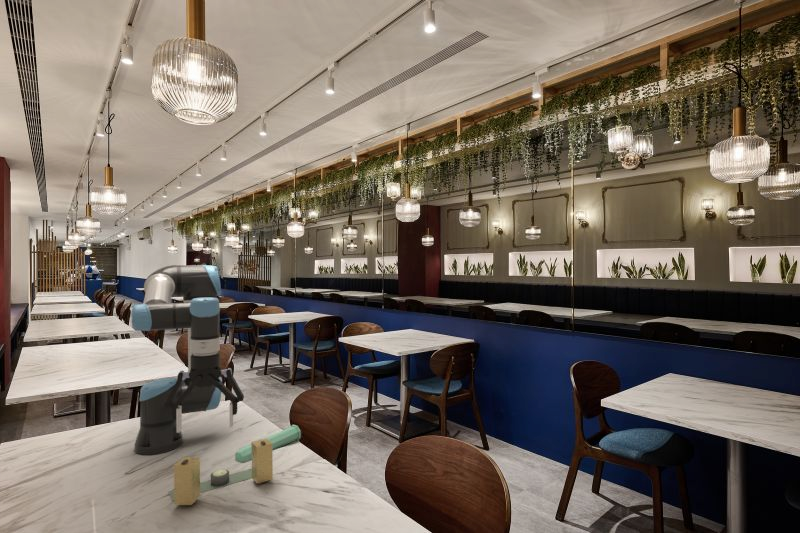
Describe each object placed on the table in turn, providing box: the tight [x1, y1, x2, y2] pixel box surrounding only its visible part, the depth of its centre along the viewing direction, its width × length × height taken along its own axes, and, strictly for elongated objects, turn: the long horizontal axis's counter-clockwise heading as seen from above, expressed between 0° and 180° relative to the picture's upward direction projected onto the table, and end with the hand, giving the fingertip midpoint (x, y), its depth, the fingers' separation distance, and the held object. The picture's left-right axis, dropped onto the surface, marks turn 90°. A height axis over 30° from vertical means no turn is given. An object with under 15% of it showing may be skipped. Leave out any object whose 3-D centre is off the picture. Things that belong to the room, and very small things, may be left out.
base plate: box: [168, 468, 252, 502], centre depth 126 cm, size 12×26×4 cm, turn 126°
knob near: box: [173, 456, 201, 507], centre depth 117 cm, size 5×5×12 cm
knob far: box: [250, 438, 274, 484], centre depth 129 cm, size 5×5×12 cm
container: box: [234, 424, 302, 463], centre depth 152 cm, size 6×6×25 cm
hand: (205, 428), depth 124 cm, fingers open, 13 cm apart
